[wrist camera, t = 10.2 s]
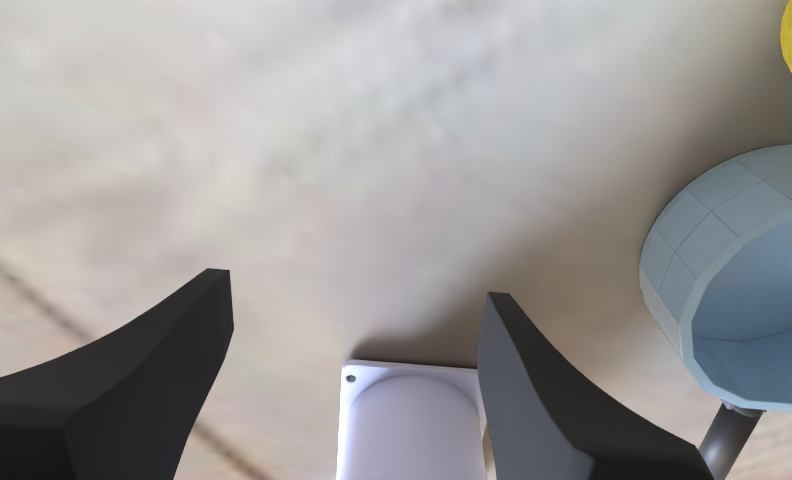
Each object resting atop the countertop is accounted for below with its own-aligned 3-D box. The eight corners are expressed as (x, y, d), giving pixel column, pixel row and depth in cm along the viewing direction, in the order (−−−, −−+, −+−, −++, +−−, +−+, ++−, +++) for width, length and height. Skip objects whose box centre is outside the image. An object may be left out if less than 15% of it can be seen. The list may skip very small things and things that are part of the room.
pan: (815, 350, 28) (883, 419, 24) (611, 333, 27) (645, 400, 23) (932, 155, 22) (1042, 202, 19) (682, 132, 22) (740, 175, 18)
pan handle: (721, 367, 25) (742, 397, 24) (759, 371, 25) (783, 400, 24) (671, 469, 29) (686, 501, 27) (705, 472, 29) (722, 503, 27)
